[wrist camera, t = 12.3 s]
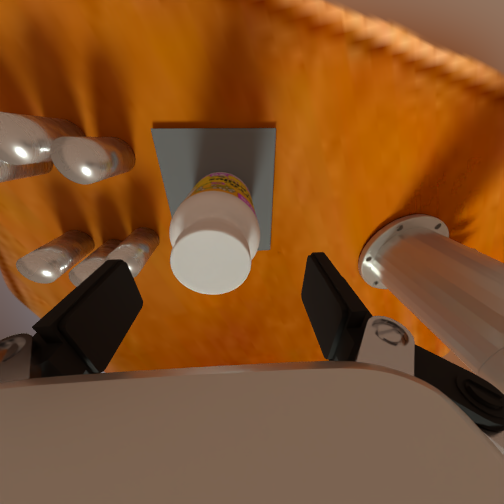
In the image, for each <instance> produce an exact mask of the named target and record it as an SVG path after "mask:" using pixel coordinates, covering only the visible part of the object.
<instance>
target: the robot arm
mask: <svg viewBox="0 0 504 504" xmlns="http://www.w3.org/2000/svg"><path fill="white" fill-rule="evenodd" d="M358 268H359V273H360V275H361V277H362V278H363V279H364V280H365V281H366V282H367V283H368V284H369V285H371V286H372V287H376V288H380V289H389V290H390V291H391V292H392V293H393V294H394V295H395V296H396V297H397V298H398V299H399V300H400V301H401V302H402V303H403V304H404V305H405V306H406V307H407V308H408V309H409V310H410V311H411V312H412V313H413V314H414V315H415V316H416V317H417V318H418V319H419V320H420V321H421V322H423V323H424V324H425V325H426V326H427V327H428V328H429V329H430V330H431V331H432V332H433V333H434V334H435V335H436V336H437V337H438V338H439V339H440V340H441V341H442V342H443V343H444V344H445V345H446V346H447V347H448V348H449V349H450V350H451V351H452V352H453V353H455V355H456V356H458V357H459V358H460V359H461V360H462V361H463V362H464V363H465V364H466V365H467V366H468V367H469V368H470V369H471V370H472V371H473V372H474V373H475V374H476V375H475V374H473V373H471V372H469V371H467V370H465V369H463V368H461V367H459V366H457V365H455V364H453V363H451V362H449V361H447V360H445V359H443V358H441V357H439V356H437V355H435V354H433V353H431V352H429V351H427V350H425V349H423V348H421V347H419V346H417V345H415V343H414V338H413V336H412V335H411V333H410V332H409V331H408V330H407V329H406V328H405V327H404V326H403V325H402V324H400V323H399V322H397V321H395V320H393V319H391V318H388V317H384V316H372V315H371V313H370V312H369V311H368V309H367V308H366V307H365V305H364V304H363V303H362V301H361V300H360V299H359V297H358V296H357V295H356V294H355V292H354V291H353V290H352V288H351V287H350V286H349V284H348V283H347V282H346V280H345V279H344V278H343V277H342V276H341V275H340V273H339V272H338V271H337V269H336V268H335V267H334V265H333V264H332V263H331V261H330V260H329V259H328V257H327V256H326V255H325V253H323V252H317V253H312V254H311V255H309V256H308V258H307V263H306V269H305V275H304V281H303V287H302V293H301V297H302V301H303V304H304V306H305V309H306V311H307V314H308V317H309V319H310V322H311V324H312V327H313V329H314V332H315V335H316V337H317V340H318V342H319V345H320V348H321V350H322V353H323V355H324V357H325V359H329V361H314V362H287V363H268V364H249V365H231V366H213V367H196V368H178V369H162V370H145V371H129V372H113V373H101V372H103V371H104V370H105V369H106V367H107V365H108V364H109V362H110V360H111V359H112V357H113V355H114V354H115V352H116V350H117V349H118V347H119V345H120V343H121V342H122V340H123V338H124V337H125V335H126V333H127V332H128V330H129V328H130V327H131V325H132V323H133V322H134V320H135V318H136V316H137V315H138V313H139V311H140V310H141V308H142V306H143V300H142V298H141V295H140V293H139V290H138V288H137V286H136V283H135V281H134V278H133V276H132V274H131V271H130V269H129V266H128V264H127V263H126V262H124V261H123V260H121V259H112V260H107V261H105V262H104V263H103V264H102V265H101V266H100V267H99V268H98V269H96V270H95V271H94V272H93V273H92V274H91V275H90V276H89V277H88V278H86V279H85V280H84V281H83V282H82V283H81V284H80V285H79V286H77V287H76V288H75V289H74V290H73V291H72V292H71V293H70V294H68V295H67V296H66V297H65V298H64V299H63V300H62V301H61V302H59V303H58V304H57V305H56V306H55V307H54V308H53V309H52V310H51V311H49V312H48V313H47V314H46V315H45V316H44V317H43V318H42V319H40V320H39V321H38V322H37V323H36V324H35V325H34V326H33V327H32V328H33V329H34V330H35V331H36V332H37V333H36V334H35V335H34V336H33V337H32V336H31V335H29V334H27V333H26V334H25V333H21V334H16V335H12V336H9V337H6V338H4V339H2V340H0V504H504V263H502V262H500V261H498V260H495V259H493V258H491V257H489V256H487V255H485V254H482V253H480V252H478V251H477V250H476V249H473V248H469V247H467V246H465V245H463V244H461V243H459V242H456V241H454V240H452V239H450V238H449V231H448V228H447V226H446V225H445V223H444V222H443V221H441V220H440V219H438V218H435V217H433V216H430V215H425V214H414V215H409V216H405V217H402V218H400V219H397V220H395V221H393V222H391V223H389V224H387V225H386V226H385V227H383V228H382V229H380V230H379V231H378V232H377V233H376V234H375V235H374V236H373V237H372V238H371V239H370V240H369V241H368V243H367V244H366V245H365V247H364V249H363V250H362V253H361V255H360V258H359V263H358Z"/></svg>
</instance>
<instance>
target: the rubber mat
mask: <svg viewBox="0 0 504 504" xmlns="http://www.w3.org/2000/svg"><path fill="white" fill-rule="evenodd" d="M151 132H152V136H153V140H154V144H155V149H156V153H157V157H158V161H159V165H160V170H161V174H162V178H163V182H164V186H165V190H166V195H167V199H168V203H169V207H170V211H171V215H172V218H173V215H174V213H175V212H176V210H177V208H178V207H179V206H180V204H181V203H182V202H183V201H184V200H185V198H186V197H187V196H188V194H189V193H190V192H191V191H192V189H193V188H194V187H195V185H196V184H197V183H198V182H199V181H200V180H201V179H202V178H203V177H205V176H207V175H209V174H211V173H216V172H225V173H229V174H232V175H234V176H236V177H238V178H239V179H240V180H241V181H243V183H244V184H245V185H246V186H247V188H248V190H249V192H250V195H251V198H252V202H253V206H254V210H255V213H256V217H257V220H258V224H259V228H260V243H259V247H258V250H270V239H271V219H272V198H273V178H274V158H275V138H276V128H183V129H151Z"/></svg>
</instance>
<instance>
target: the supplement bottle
mask: <svg viewBox="0 0 504 504" xmlns="http://www.w3.org/2000/svg"><path fill="white" fill-rule="evenodd" d="M170 241H171V244H172V247H173V249H172V251H171V256H170V263H171V268H172V271H173V273H174V275H175V276H176V278H177V279H178V280H179V281H180V282H181V283H182V284H183V285H185V286H186V287H187V288H189V289H191V290H193V291H196V292H199V293H203V294H222V293H226V292H229V291H232V290H234V289H235V288H237V287H238V286H240V285H241V284H242V283H243V282H244V281H245V279H246V278H247V276H248V274H249V272H250V268H251V260H252V258H253V257H254V256H255V254H256V252H257V250H258V247H259V243H260V228H259V224H258V220H257V217H256V213H255V210H254V206H253V202H252V198H251V195H250V192H249V190H248V188H247V186H246V185H245V184H244V183H243V181H241V180H240V179H239V178H238V177H236V176H234V175H232V174H229V173H225V172H216V173H211V174H209V175H207V176H205V177H203V178H202V179H201V180H200V181H199V182H198V183H197V184H196V185H195V187H194V188H193V189H192V191H191V192H190V193H189V194H188V196H187V197H186V198H185V200H184V201H183V202H182V203H181V204H180V206H179V207H178V208H177V210H176V212H175V213H174V215H173V218H172V220H171V224H170Z"/></svg>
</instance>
